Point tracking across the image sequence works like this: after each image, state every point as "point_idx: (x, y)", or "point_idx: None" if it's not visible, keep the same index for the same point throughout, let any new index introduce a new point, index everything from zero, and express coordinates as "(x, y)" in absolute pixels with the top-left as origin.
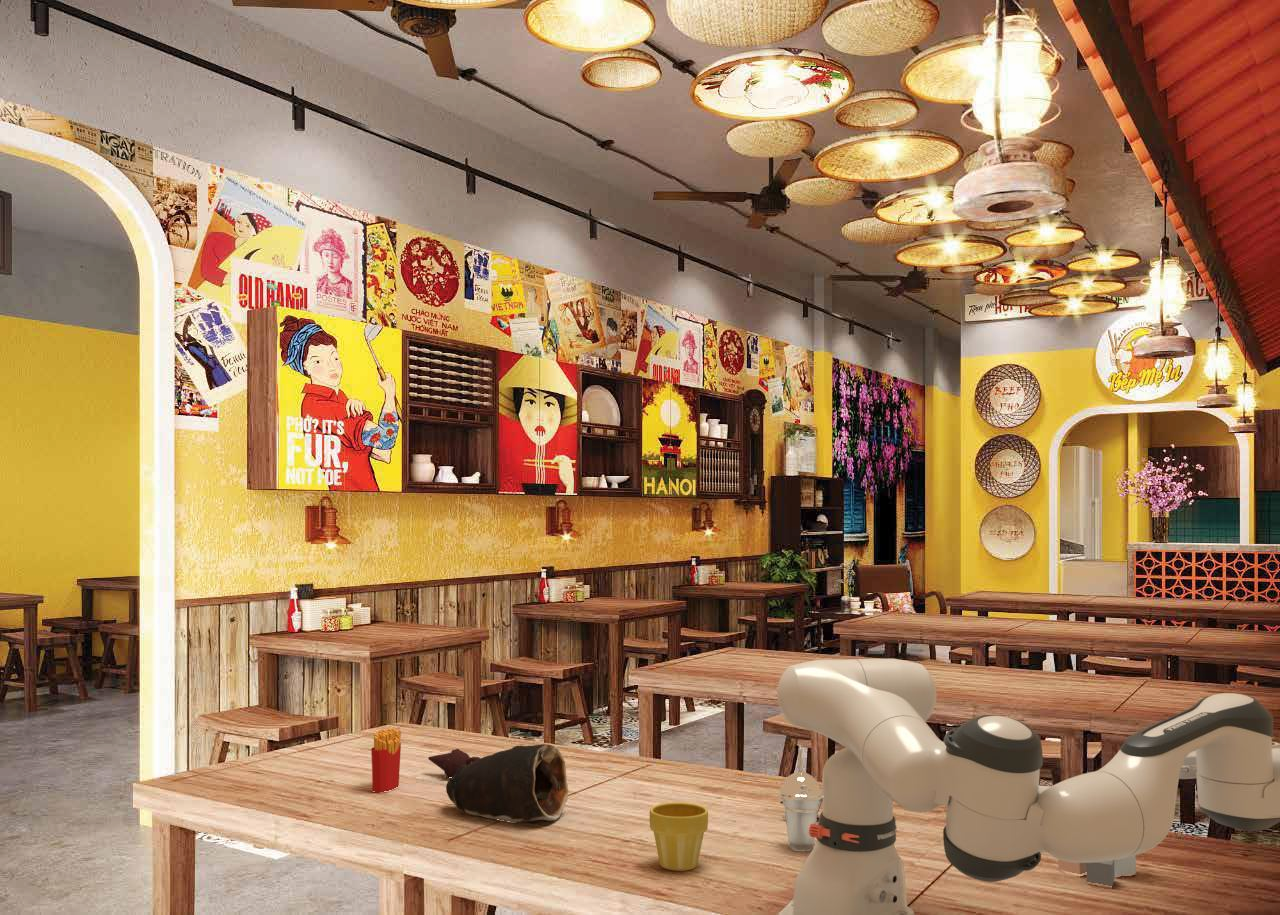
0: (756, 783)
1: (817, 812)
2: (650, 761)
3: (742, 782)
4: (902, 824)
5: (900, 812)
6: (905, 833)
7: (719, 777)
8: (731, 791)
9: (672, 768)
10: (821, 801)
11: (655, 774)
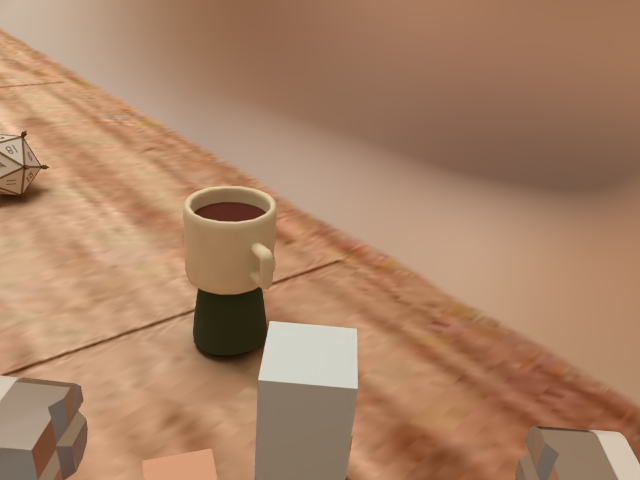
0: (109, 125)
1: (20, 189)
2: (74, 79)
3: (96, 121)
4: (128, 241)
5: (182, 214)
6: (85, 264)
7: (89, 109)
8: (47, 130)
9: (71, 90)
10: (20, 173)
11: (31, 93)
